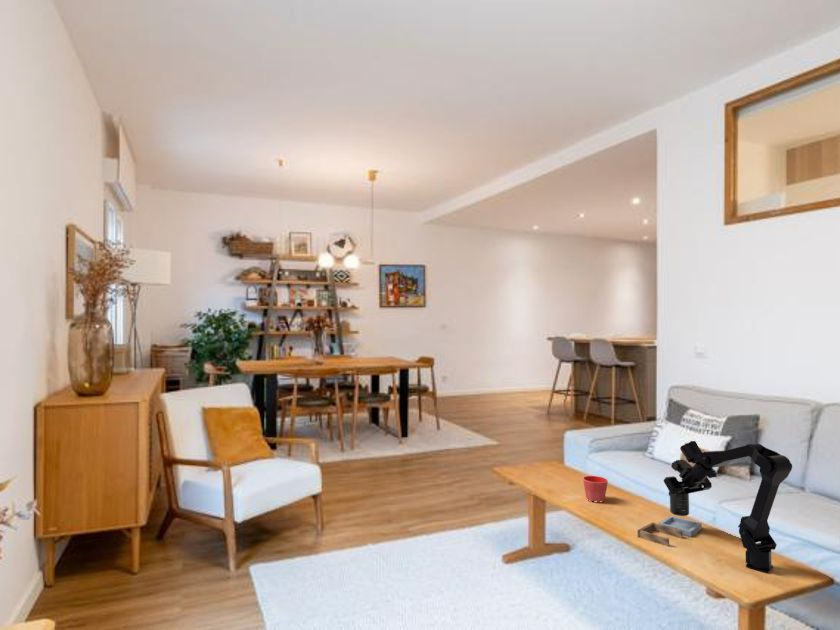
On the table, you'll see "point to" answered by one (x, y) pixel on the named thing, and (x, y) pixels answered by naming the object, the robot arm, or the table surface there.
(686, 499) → the supplement bottle
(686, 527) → the tray
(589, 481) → the flower pot
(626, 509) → the table surface
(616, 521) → the table surface
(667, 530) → the cradle
